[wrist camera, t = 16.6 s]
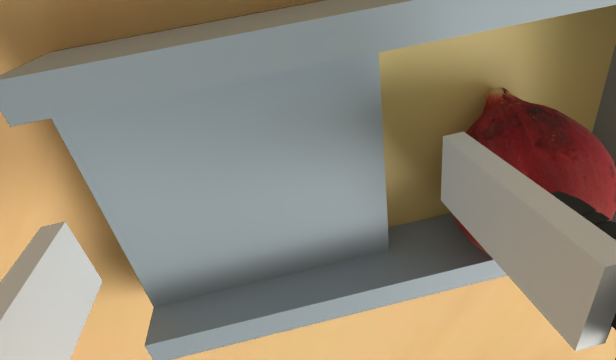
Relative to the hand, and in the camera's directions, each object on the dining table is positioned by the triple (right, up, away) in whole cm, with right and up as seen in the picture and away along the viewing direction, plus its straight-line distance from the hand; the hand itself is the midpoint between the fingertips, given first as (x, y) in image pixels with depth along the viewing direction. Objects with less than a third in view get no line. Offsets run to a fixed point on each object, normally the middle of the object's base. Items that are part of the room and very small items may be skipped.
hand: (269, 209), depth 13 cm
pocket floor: (+9, +4, +4) cm, 11 cm away
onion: (+11, -3, +1) cm, 11 cm away
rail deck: (+5, +3, +4) cm, 7 cm away
